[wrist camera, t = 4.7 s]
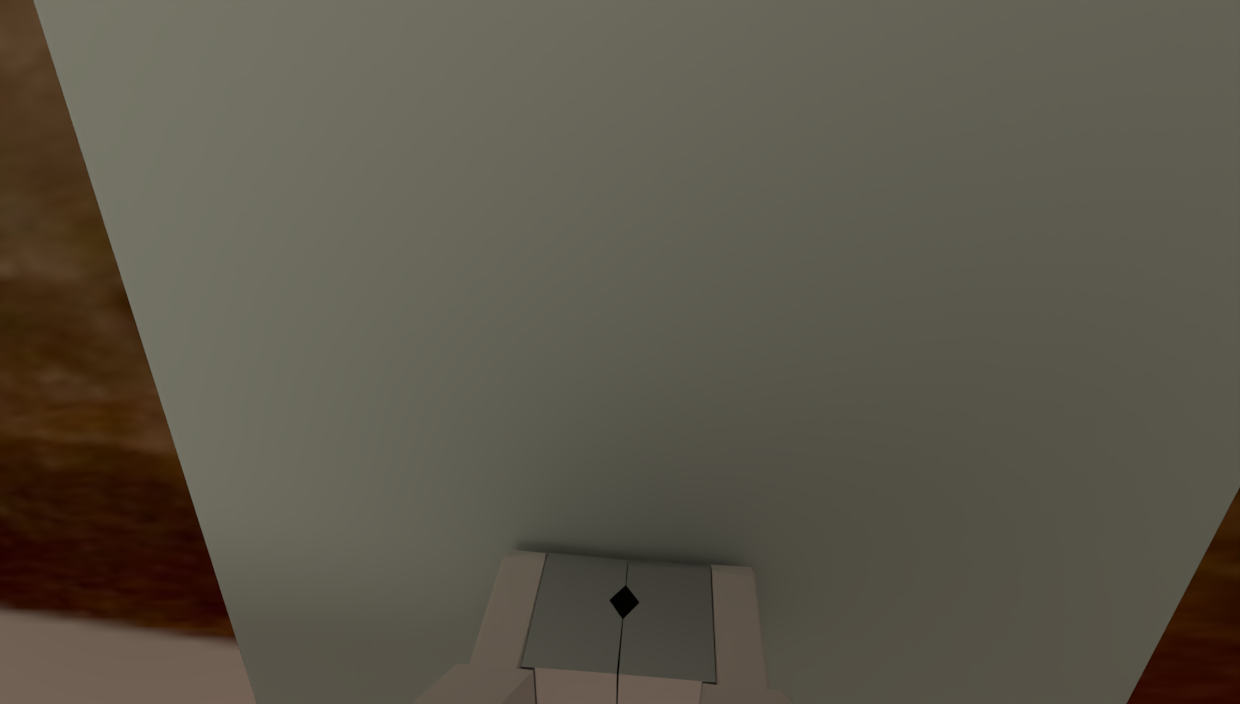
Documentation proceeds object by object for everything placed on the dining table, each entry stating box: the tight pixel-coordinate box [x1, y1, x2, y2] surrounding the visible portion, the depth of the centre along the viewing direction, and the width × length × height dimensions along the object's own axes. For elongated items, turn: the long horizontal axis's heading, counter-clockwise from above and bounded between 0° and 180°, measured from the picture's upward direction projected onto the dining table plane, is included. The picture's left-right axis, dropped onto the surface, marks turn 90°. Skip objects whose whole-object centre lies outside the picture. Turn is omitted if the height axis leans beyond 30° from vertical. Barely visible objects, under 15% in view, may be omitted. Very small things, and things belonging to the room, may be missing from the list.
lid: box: [34, 0, 1240, 704], centre depth 9 cm, size 15×12×1 cm
